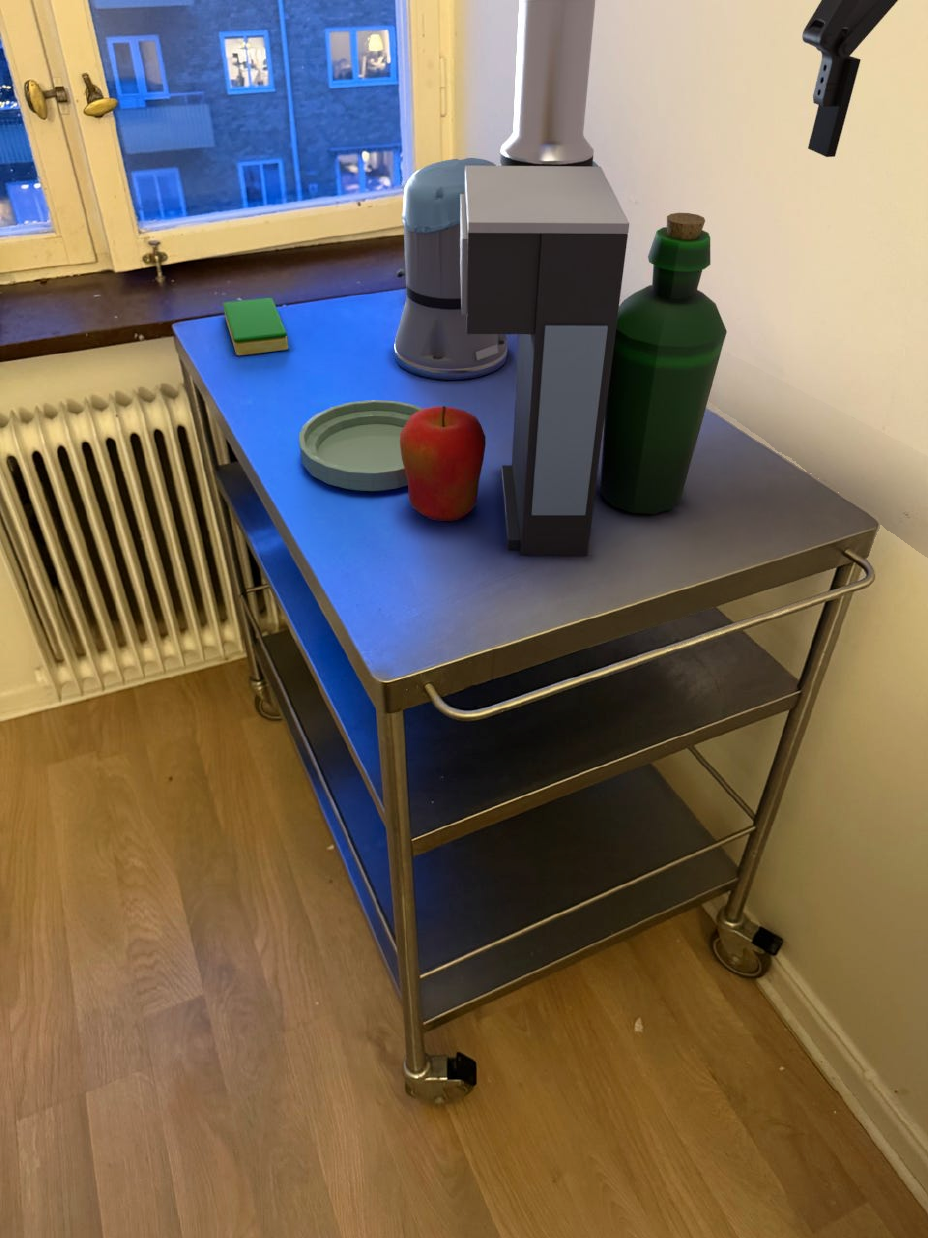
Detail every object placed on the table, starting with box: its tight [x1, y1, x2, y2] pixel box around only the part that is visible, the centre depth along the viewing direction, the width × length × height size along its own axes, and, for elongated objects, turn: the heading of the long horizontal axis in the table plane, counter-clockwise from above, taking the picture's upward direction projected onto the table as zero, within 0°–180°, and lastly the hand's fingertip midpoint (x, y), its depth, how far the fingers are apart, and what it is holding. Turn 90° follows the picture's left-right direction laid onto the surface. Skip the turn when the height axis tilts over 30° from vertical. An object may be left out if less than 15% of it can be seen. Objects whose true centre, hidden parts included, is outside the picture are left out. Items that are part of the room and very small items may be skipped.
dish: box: [298, 399, 424, 492], centre depth 98 cm, size 16×16×3 cm
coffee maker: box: [460, 165, 630, 557], centre depth 81 cm, size 12×16×31 cm
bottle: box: [600, 212, 728, 515], centre depth 85 cm, size 11×11×28 cm
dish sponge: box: [222, 297, 289, 356], centre depth 124 cm, size 7×14×2 cm, turn 18°
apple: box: [400, 405, 487, 522], centre depth 87 cm, size 9×8×12 cm
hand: (895, 148), depth 71 cm, fingers open, 13 cm apart
